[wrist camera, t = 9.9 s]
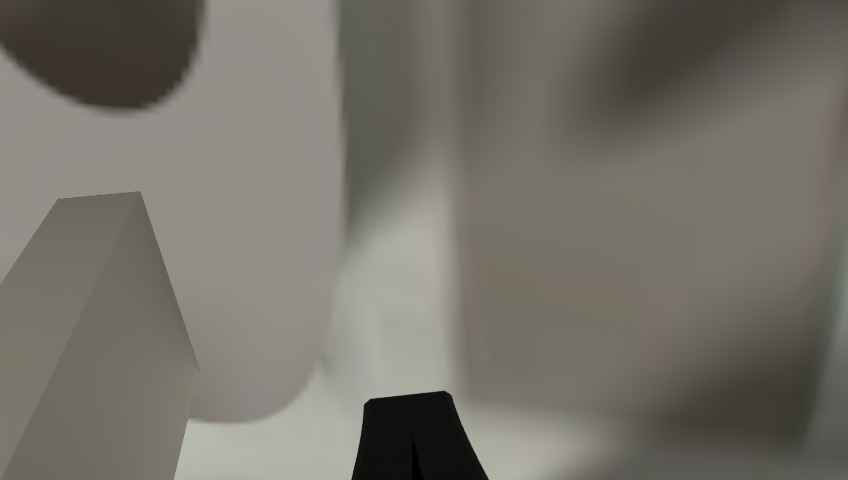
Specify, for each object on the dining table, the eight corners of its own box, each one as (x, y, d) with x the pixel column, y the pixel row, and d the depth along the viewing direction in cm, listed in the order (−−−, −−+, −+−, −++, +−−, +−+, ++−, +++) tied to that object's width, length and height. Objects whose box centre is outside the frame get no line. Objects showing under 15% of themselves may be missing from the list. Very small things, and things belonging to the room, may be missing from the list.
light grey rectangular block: (140, 191, 13) (-8, 498, 8) (199, 370, 16) (123, 691, 11) (57, 199, 13) (-154, 515, 8) (132, 377, 16) (17, 706, 10)
